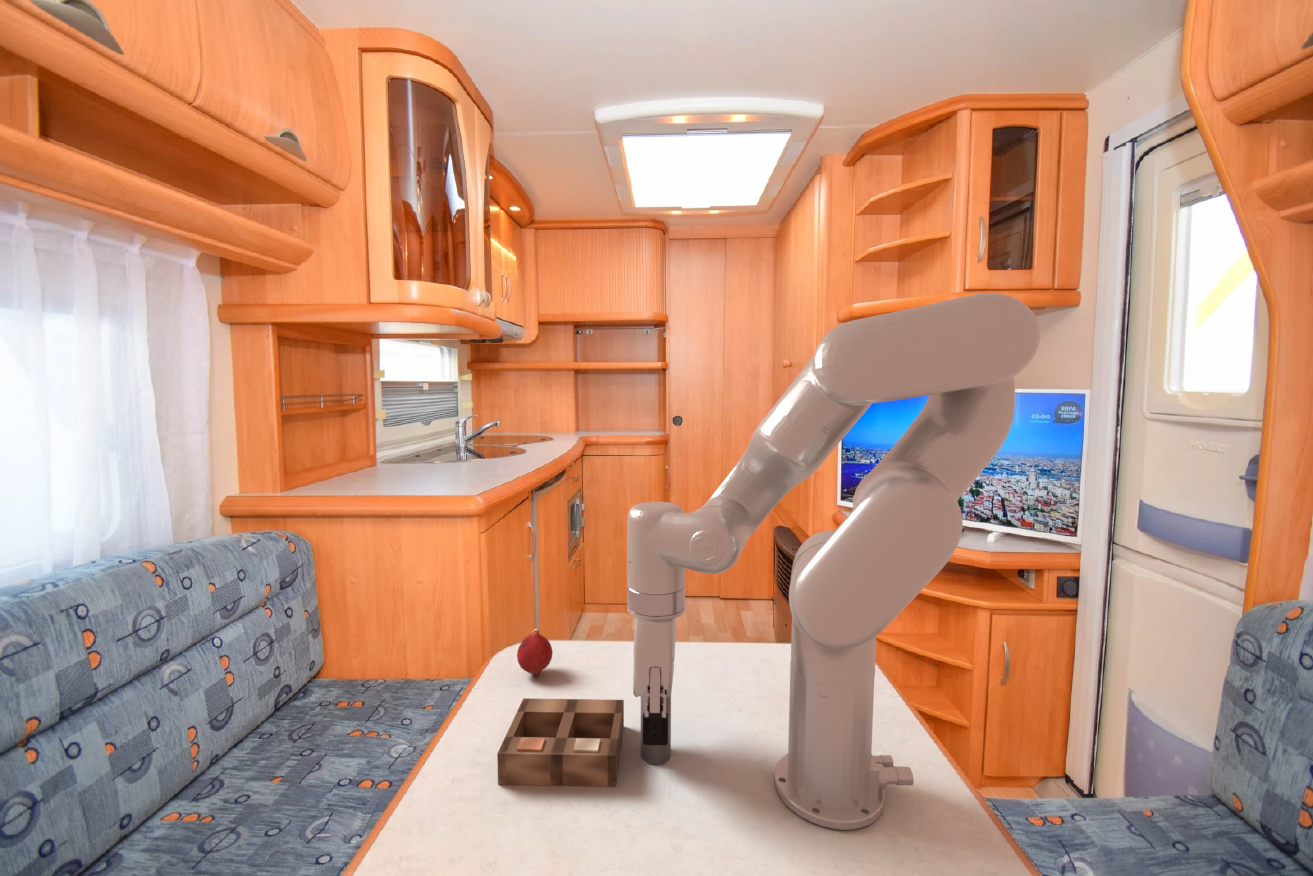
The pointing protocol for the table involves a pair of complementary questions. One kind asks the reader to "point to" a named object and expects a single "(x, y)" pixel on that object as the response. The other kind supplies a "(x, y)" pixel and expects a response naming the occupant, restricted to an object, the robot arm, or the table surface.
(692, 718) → the table surface
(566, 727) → the socket block
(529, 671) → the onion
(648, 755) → the plug
